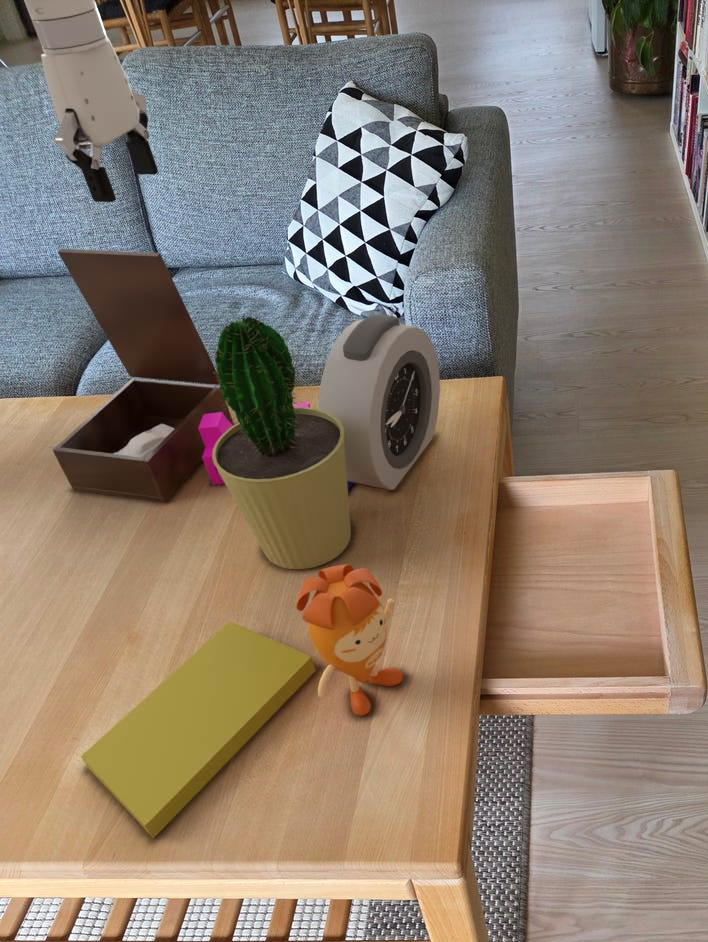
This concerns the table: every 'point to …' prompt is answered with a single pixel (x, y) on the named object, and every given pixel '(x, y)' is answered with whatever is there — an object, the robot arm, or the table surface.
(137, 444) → the toy car
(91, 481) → the chest
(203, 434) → the toy block
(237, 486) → the potted cactus
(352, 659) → the toy figure
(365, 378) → the alarm clock
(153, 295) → the lid
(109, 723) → the table surface
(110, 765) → the flat olive board
